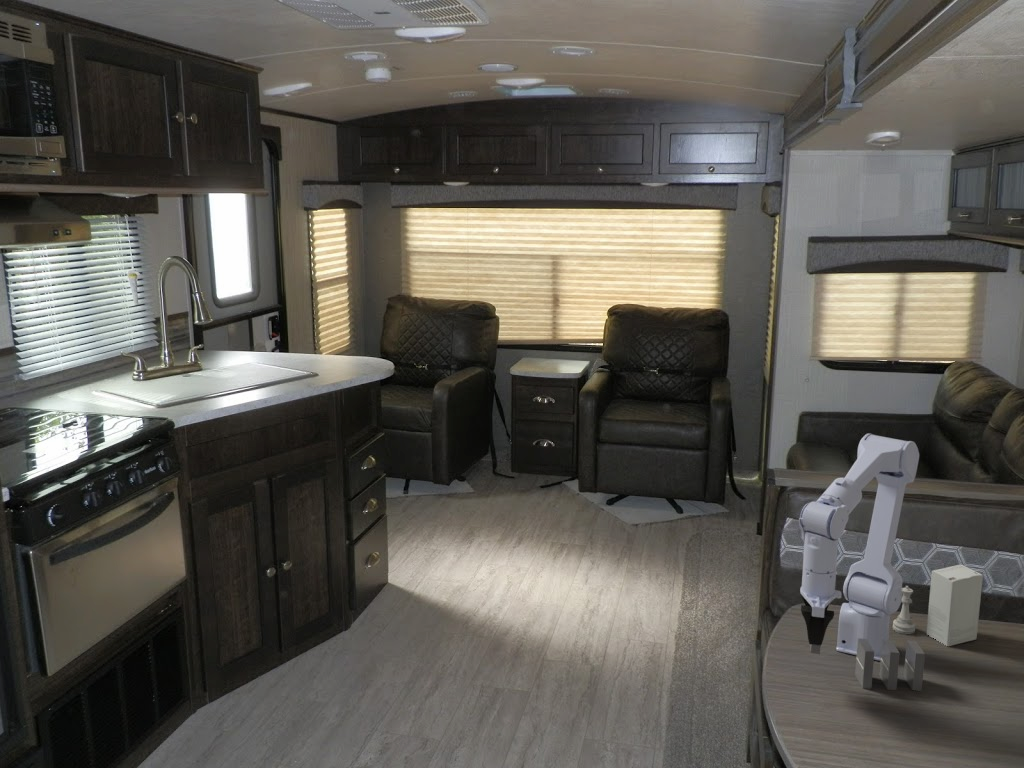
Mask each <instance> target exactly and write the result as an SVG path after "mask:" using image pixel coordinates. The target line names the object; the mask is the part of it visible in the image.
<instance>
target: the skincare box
mask: <svg viewBox="0 0 1024 768" xmlns="http://www.w3.org/2000/svg"><path fill="white" fill-rule="evenodd" d="M983 579H984V575H983V574H982V573H980V572H978V571H976V570H974V569H972V568H969V567H968V566H965V565H963V564H957V565H952V566H947V567H943V568H939V569H934V570H931V577H930V589H929V599H928V601H929V602H928V607H927V608H928V610H927V620H926V633H925V634H926V635H927V636H928V635H929V637H930V638H931V639H933V638H934V640H935V639H936V640H935V641H937V642H938V641H939V643H940V642H941V643H940V644H942V643H943V644H944V646H945V645H946V646H945V647H947V646H948V647H951V646H952V647H953V646H955V645H959V644H963V643H967V642H971V641H974V640H977V636H978V628H979V617H980V606H981V599H982V598H981V596H982V590H983V589H982V588H983V586H982V585H983ZM943 644H942V645H943Z"/></svg>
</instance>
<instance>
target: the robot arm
mask: <svg viewBox="0 0 1024 768" xmlns="http://www.w3.org/2000/svg"><path fill="white" fill-rule="evenodd" d="M856 457H857V459H856V460H855V461H854V463H853V464H852V465H851V467H850V469H849V470H848V472H847V474H846V475H845V476H844V477H837V478H835V479H834V480H833V481H832V483H831V484H830V485H829V486H828V487H827V488H826V489H825V490H824V492H823V493H822V494H821V495H820V497H819V498H818V499H817V500H816V501H814V500H813V501H811V502H808V503H806V504H805V505H804V506H803V507H802V509H801V512H800V516H799V518H798V525H799V529H800V532H801V536H800V537H801V540H802V541H803V557H802V558H803V559H802V560H803V561H802V577H801V586H800V588H799V589H800V590H799V591H800V595H801V598H802V600H803V602H804V605H803V604H801V605H800V611H801V615H802V617H803V619H804V622H805V625H806V630H807V631H806V632H807V639H808V644H809V645H810V644H813V645H820V646H821V647H822V643H824V642H823V641H824V639H825V635H826V632H827V628H828V626H829V625H830V623H831V621H832V620H833V618H834V616H835V611H834V610H829V606H830V604H831V603H832V602H833V601H834V599H841V598H842V592H843V596H844V598H845V600H846V601H848V602H843V603H842V604H841V607H840V611H839V615H838V617H839V618H838V627H837V628H838V630H837V639H836V640H837V643H836V647H835V648H836V649H835V650H836V651H837V652H840V653H845V654H850V655H854V656H857V643H858V639H867V640H868V642H869V644H870V645H871V647H872V649H873V650H874V661H879V662H880V661H881V648H882V640H889V637H890V636H889V634H890V625H891V623H890V622H891V615H893V614H894V613H896V612H897V611H898V609H899V608H900V606H901V603H902V602H901V600H902V596H903V593H902V588H903V582H904V581H903V577H902V576H901V574H900V573H899V571H897V570H896V569H895V567H894V566H893V565H892V564H891V562H892V558H893V552H894V546H895V544H896V543H895V542H896V537H897V532H898V528H899V527H898V526H899V522H900V516H901V512H902V506H903V500H904V496H905V490H906V487H907V484H912V483H914V482H915V478H916V475H917V471H918V465H919V460H920V452H919V448H918V446H917V444H916V442H915V441H912V440H909V441H908V440H903V439H897V438H891V437H886V436H881V435H877V434H873V433H866V434H865V435H864V436H863V437H862V438H861V439H860V441H859V443H858V446H857V455H856ZM874 478H876V481H877V485H878V486H877V489H876V496H875V500H874V505H873V510H872V516H871V521H870V525H869V531H868V536H867V543H866V546H865V551H864V552H865V553H864V556H863V559H861V560H859V561H856V562H854V563H852V564H851V565H850V567H849V570H848V573H847V576H846V577H845V580H844V583H843V587H842V590H843V591H840V590H837V589H836V581H837V563H838V547H839V539H840V537H842V535H843V534H844V532H845V529H846V527H847V526H846V525H847V523H848V522H849V519H850V518H849V515H850V514H851V513H852V512H853V511H854V509H855V508H856V507H857V506H858V504H859V503H860V502H861V500H862V499H863V493H862V490H863V488H865V487H866V486H867V485H868V483H870V482H871V481H872V480H873V479H874Z"/></svg>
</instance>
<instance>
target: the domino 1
mask: <svg viewBox="0 0 1024 768" xmlns="http://www.w3.org/2000/svg"><path fill="white" fill-rule="evenodd" d="M809 645H810V649H809V651H810V654H817V655H820V654H821V647H822V645H821V646H820V645H813V644H809Z"/></svg>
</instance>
